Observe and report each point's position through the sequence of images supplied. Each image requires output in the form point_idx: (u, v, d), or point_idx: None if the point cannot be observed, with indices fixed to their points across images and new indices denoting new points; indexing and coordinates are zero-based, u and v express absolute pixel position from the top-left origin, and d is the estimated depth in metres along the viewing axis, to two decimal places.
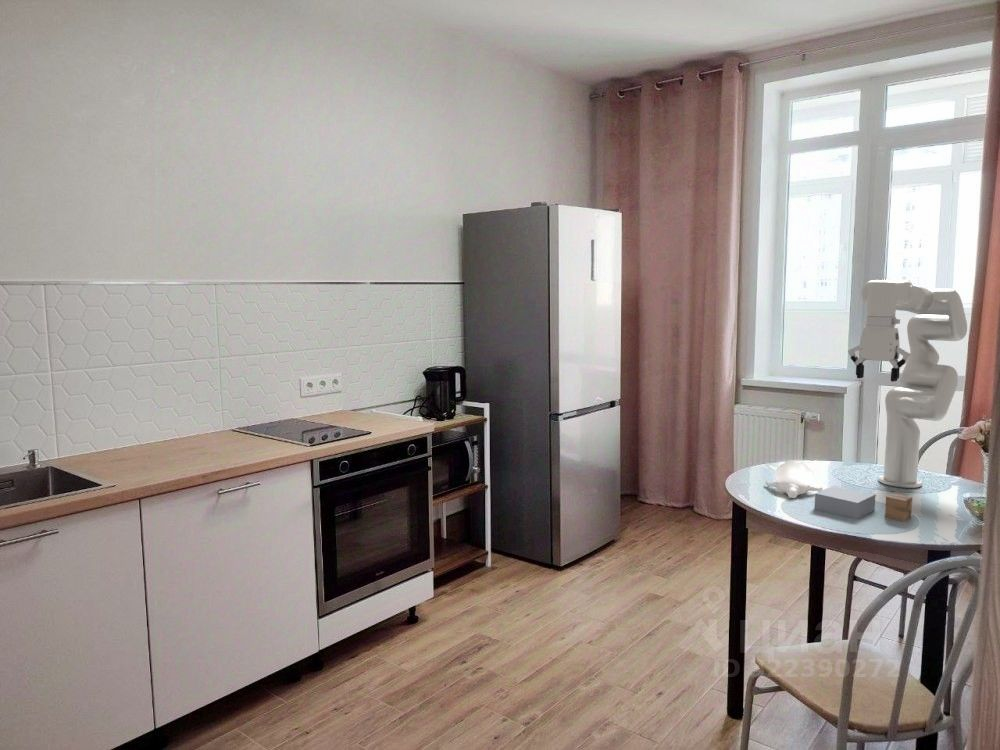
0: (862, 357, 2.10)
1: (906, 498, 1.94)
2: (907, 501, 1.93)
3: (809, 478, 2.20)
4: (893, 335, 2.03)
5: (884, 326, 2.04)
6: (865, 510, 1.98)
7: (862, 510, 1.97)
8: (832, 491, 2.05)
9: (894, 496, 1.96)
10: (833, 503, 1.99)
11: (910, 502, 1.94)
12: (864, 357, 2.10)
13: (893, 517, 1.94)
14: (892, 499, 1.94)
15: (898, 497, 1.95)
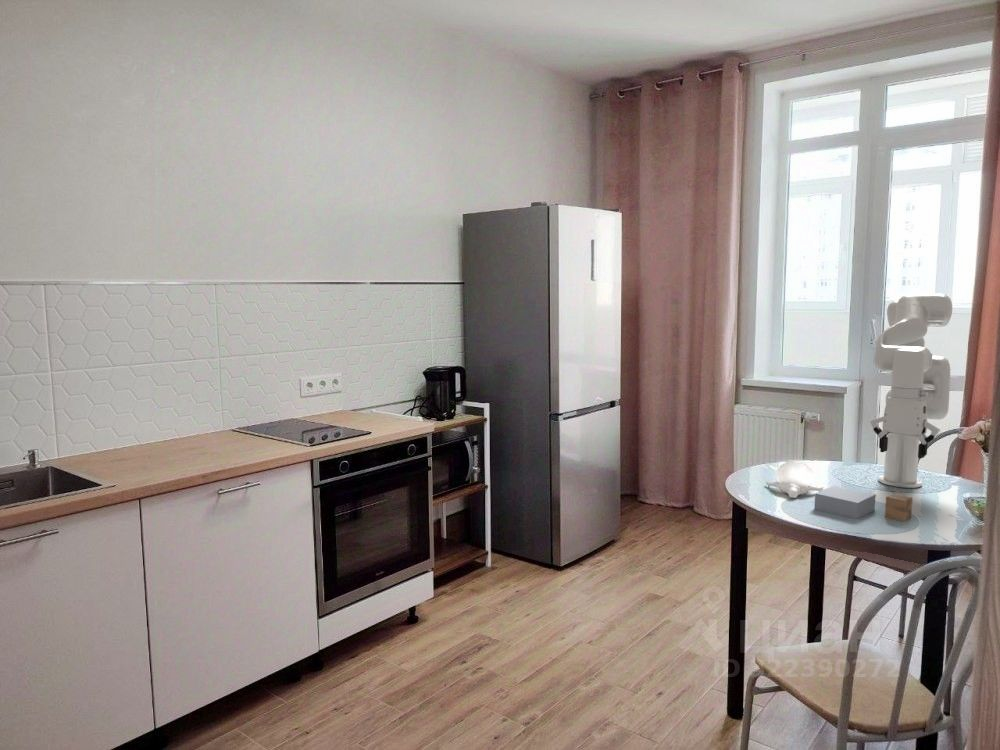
0: (886, 430, 1.94)
1: (906, 498, 1.94)
2: (907, 501, 1.93)
3: (810, 477, 2.20)
4: (921, 409, 1.87)
5: (911, 399, 1.88)
6: (865, 510, 1.98)
7: (862, 510, 1.97)
8: (832, 491, 2.05)
9: (894, 496, 1.96)
10: (833, 503, 1.99)
11: (910, 502, 1.94)
12: (888, 430, 1.94)
13: (893, 517, 1.94)
14: (892, 499, 1.94)
15: (898, 497, 1.95)
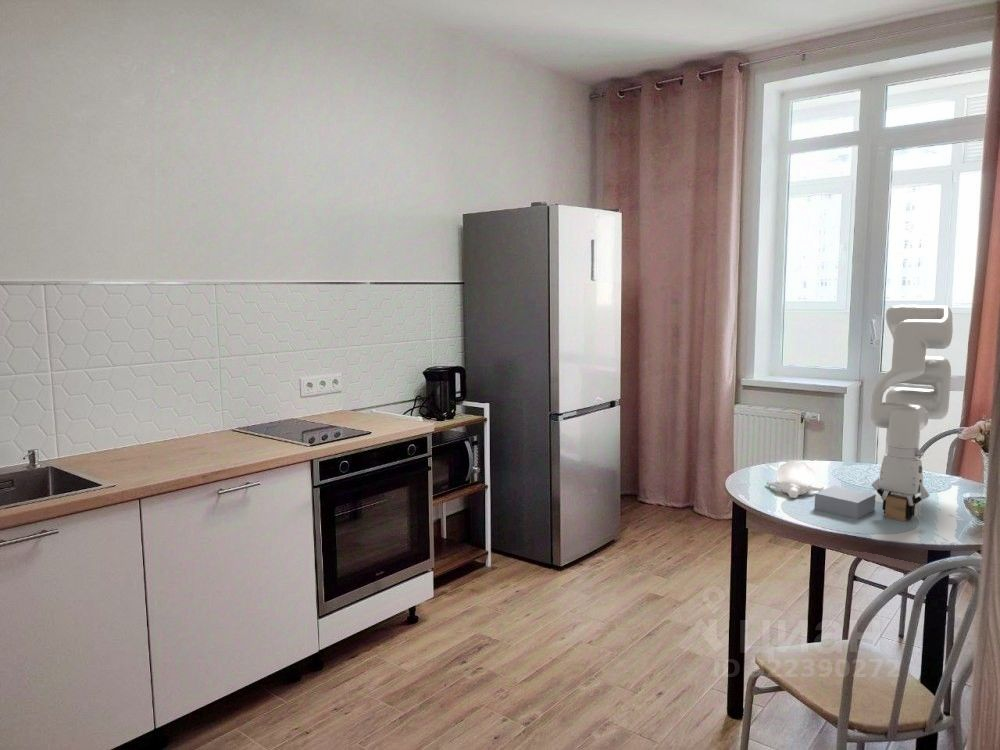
0: (882, 487, 1.96)
1: (906, 498, 1.94)
2: (907, 501, 1.93)
3: (810, 478, 2.20)
4: (916, 468, 1.90)
5: (907, 459, 1.90)
6: (865, 510, 1.98)
7: (862, 510, 1.97)
8: (832, 491, 2.05)
9: (894, 496, 1.96)
10: (833, 503, 1.99)
11: None
12: (885, 488, 1.96)
13: (893, 517, 1.94)
14: (892, 499, 1.94)
15: (898, 497, 1.95)
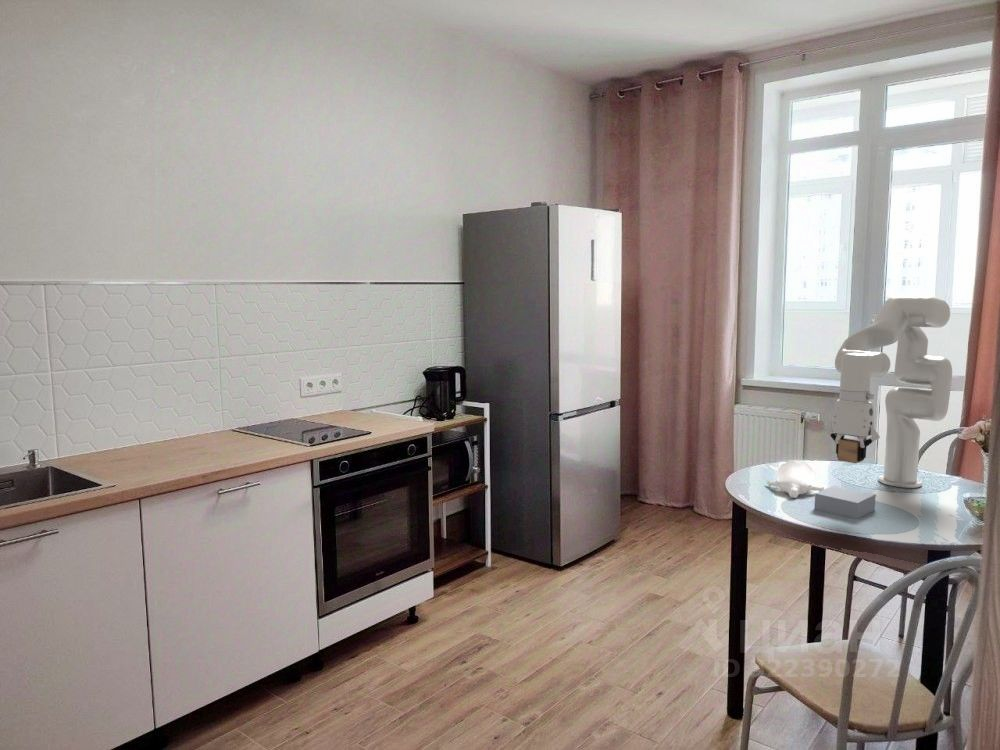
0: (835, 431, 2.01)
1: (858, 441, 1.99)
2: (858, 443, 1.97)
3: (811, 477, 2.20)
4: (867, 411, 1.95)
5: (858, 401, 1.95)
6: (865, 510, 1.98)
7: (862, 510, 1.97)
8: (832, 491, 2.05)
9: (846, 439, 2.00)
10: (833, 503, 1.99)
11: None
12: (837, 431, 2.01)
13: (845, 459, 1.99)
14: (844, 442, 1.99)
15: (851, 440, 2.00)
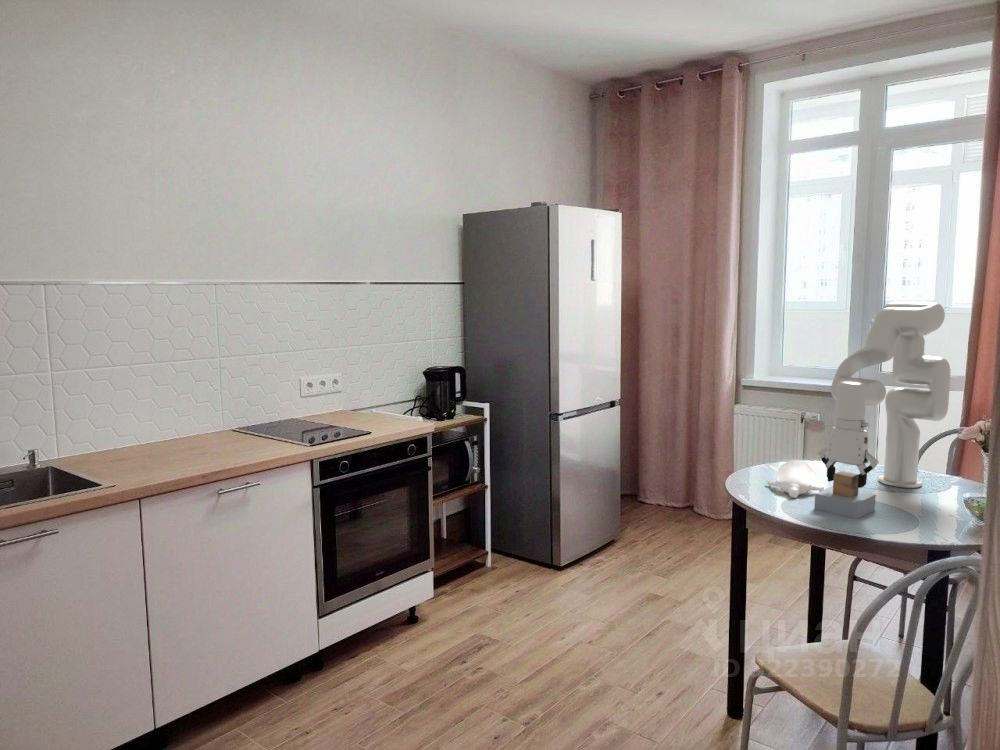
0: (831, 459, 2.03)
1: (853, 475, 2.00)
2: (853, 478, 1.99)
3: (811, 477, 2.21)
4: (862, 439, 1.96)
5: (853, 430, 1.96)
6: (865, 510, 1.98)
7: (862, 510, 1.97)
8: (832, 491, 2.05)
9: (841, 473, 2.02)
10: (833, 503, 1.99)
11: (857, 479, 2.01)
12: (833, 459, 2.02)
13: (840, 493, 2.01)
14: (839, 476, 2.01)
15: (845, 474, 2.01)
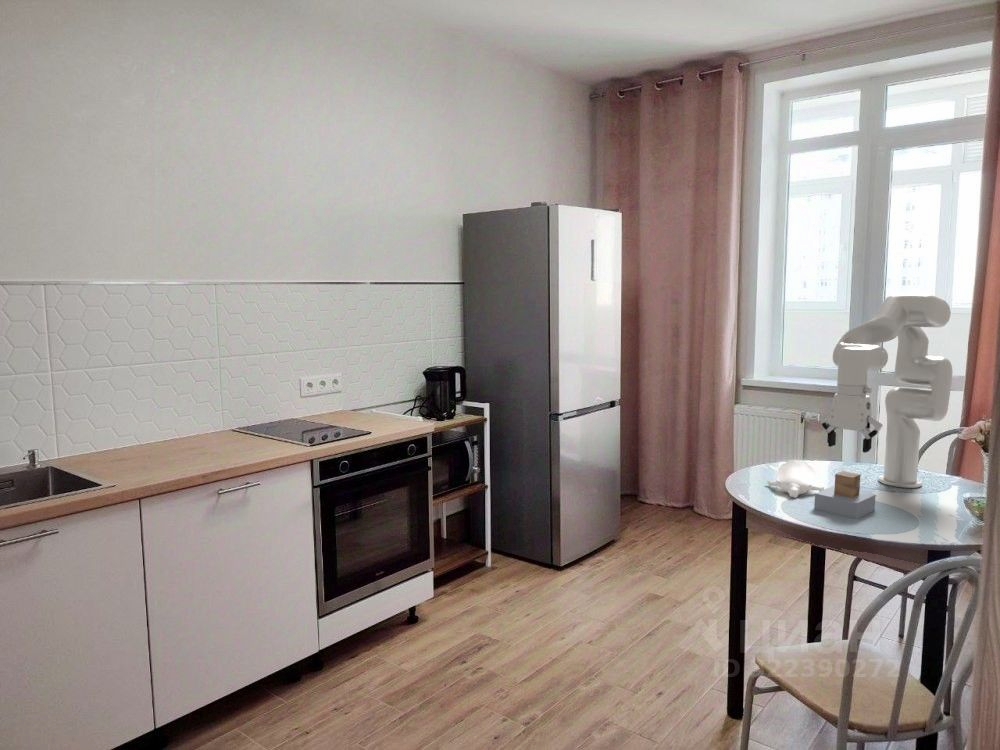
0: (833, 425, 2.02)
1: (854, 475, 2.00)
2: (854, 478, 1.99)
3: (811, 477, 2.21)
4: (864, 405, 1.95)
5: (855, 395, 1.95)
6: (864, 510, 1.98)
7: (862, 510, 1.97)
8: (831, 491, 2.05)
9: (843, 473, 2.02)
10: (833, 503, 2.00)
11: (858, 479, 2.01)
12: (835, 425, 2.01)
13: (842, 494, 2.01)
14: (841, 476, 2.01)
15: (847, 474, 2.01)
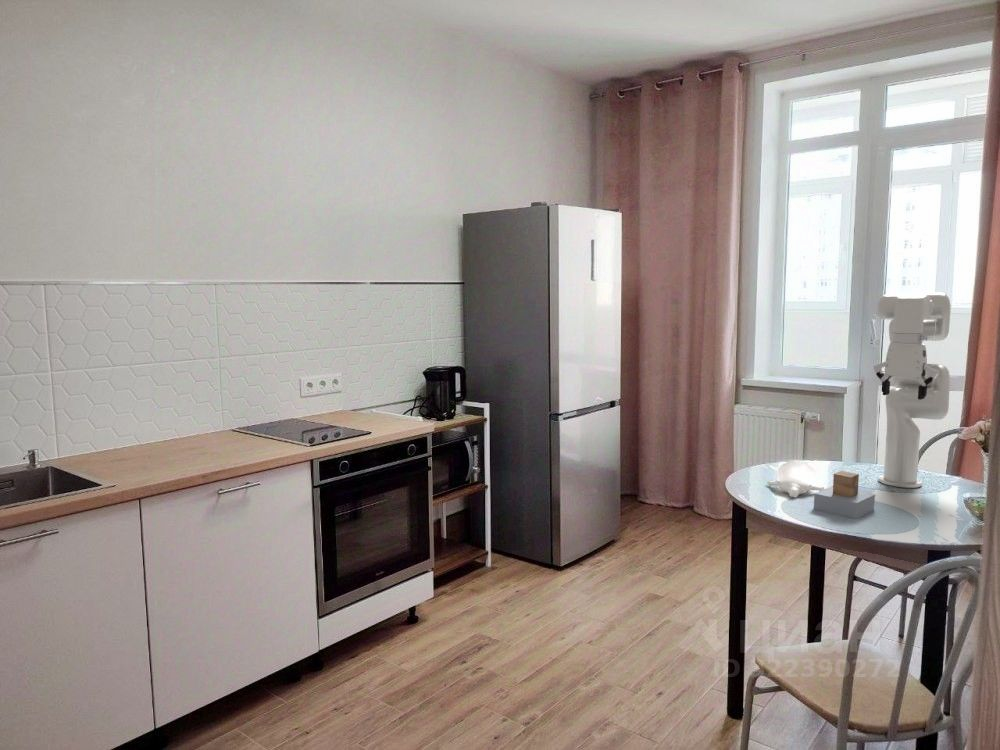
0: (888, 374, 2.06)
1: (852, 475, 2.00)
2: (853, 478, 1.99)
3: (811, 477, 2.21)
4: (920, 352, 1.99)
5: (911, 343, 1.99)
6: (864, 510, 1.98)
7: (862, 510, 1.97)
8: (831, 491, 2.05)
9: (841, 473, 2.02)
10: (832, 503, 2.00)
11: (857, 479, 2.01)
12: (890, 374, 2.05)
13: (840, 493, 2.01)
14: (839, 476, 2.01)
15: (845, 474, 2.01)
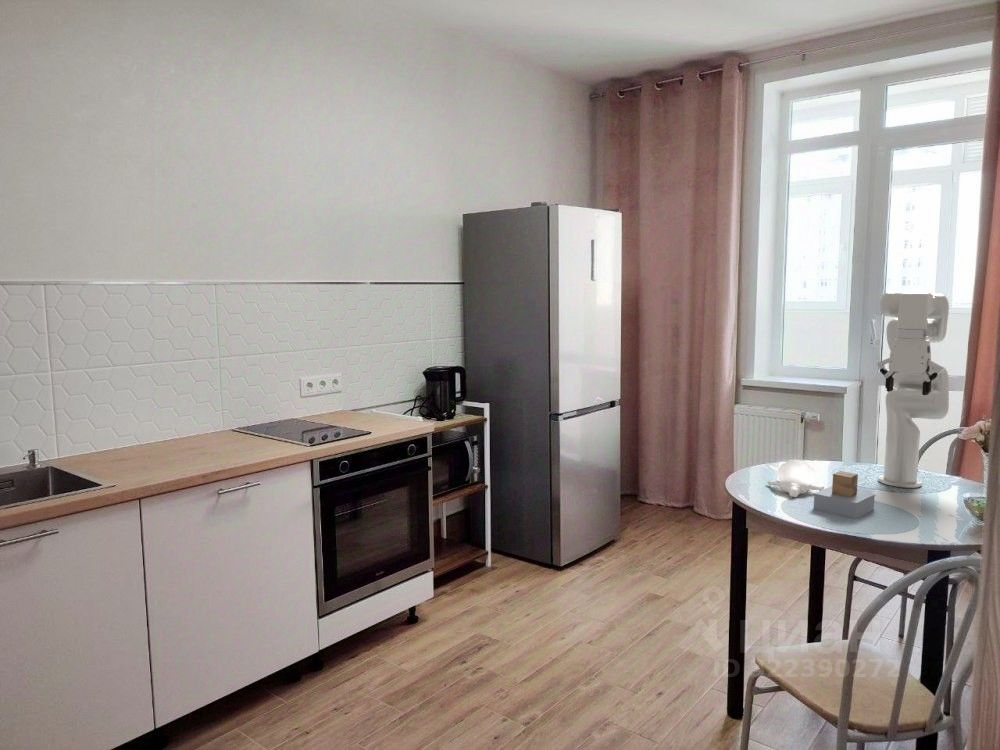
0: (892, 370, 2.06)
1: (852, 475, 2.00)
2: (852, 478, 1.99)
3: (811, 477, 2.21)
4: (925, 348, 1.99)
5: (916, 339, 1.99)
6: (864, 510, 1.98)
7: (861, 510, 1.97)
8: (831, 491, 2.05)
9: (841, 473, 2.02)
10: (832, 503, 2.00)
11: (856, 479, 2.01)
12: (894, 370, 2.05)
13: (839, 493, 2.01)
14: (838, 476, 2.01)
15: (845, 474, 2.01)
